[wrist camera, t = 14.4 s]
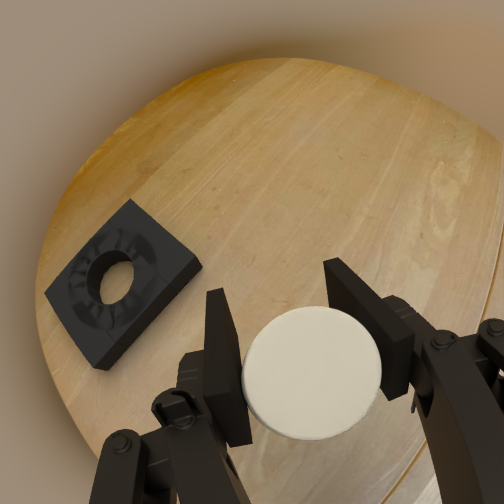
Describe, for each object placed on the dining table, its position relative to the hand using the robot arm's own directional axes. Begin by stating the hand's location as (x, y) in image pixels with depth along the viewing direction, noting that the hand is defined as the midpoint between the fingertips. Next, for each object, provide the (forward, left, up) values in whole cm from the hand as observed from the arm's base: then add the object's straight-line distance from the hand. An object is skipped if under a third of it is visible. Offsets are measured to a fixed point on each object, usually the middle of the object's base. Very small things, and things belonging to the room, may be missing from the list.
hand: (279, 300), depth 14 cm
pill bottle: (-2, -3, -3) cm, 5 cm away
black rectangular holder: (-7, +18, -16) cm, 25 cm away
